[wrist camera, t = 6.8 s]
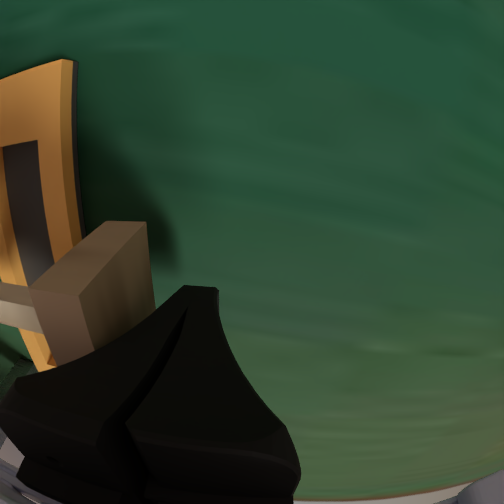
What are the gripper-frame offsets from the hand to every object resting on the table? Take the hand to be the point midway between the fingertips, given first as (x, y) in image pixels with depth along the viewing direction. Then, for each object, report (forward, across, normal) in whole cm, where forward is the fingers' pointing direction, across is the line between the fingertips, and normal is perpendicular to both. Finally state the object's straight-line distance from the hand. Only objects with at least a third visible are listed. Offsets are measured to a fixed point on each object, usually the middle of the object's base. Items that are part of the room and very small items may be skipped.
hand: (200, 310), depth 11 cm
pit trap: (+2, +8, 0) cm, 9 cm away
